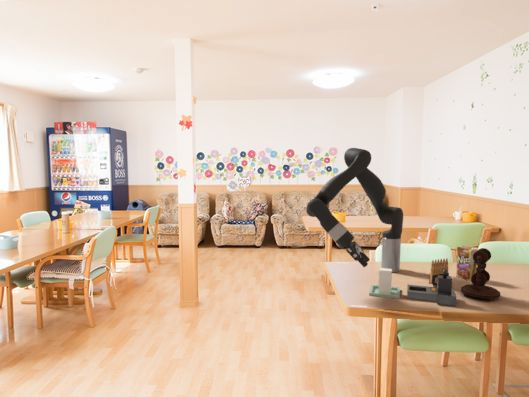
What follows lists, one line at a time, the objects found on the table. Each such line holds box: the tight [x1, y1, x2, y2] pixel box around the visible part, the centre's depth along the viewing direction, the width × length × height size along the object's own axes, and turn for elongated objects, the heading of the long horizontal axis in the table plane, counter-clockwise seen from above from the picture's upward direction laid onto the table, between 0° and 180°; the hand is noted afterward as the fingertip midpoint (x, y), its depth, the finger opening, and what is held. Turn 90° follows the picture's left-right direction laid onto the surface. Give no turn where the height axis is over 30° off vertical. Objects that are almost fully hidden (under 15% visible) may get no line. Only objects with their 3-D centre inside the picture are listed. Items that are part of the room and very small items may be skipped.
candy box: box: [455, 245, 479, 283], centre depth 193 cm, size 9×4×15 cm, turn 17°
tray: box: [368, 284, 401, 300], centre depth 170 cm, size 12×12×2 cm
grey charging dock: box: [406, 269, 458, 307], centre depth 163 cm, size 10×18×13 cm, turn 71°
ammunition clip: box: [428, 257, 450, 287], centre depth 184 cm, size 11×2×12 cm, turn 115°
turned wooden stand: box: [460, 247, 501, 302], centre depth 168 cm, size 15×15×20 cm
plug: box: [378, 267, 393, 295], centre depth 169 cm, size 4×5×10 cm
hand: (367, 263), depth 171 cm, fingers open, 8 cm apart
